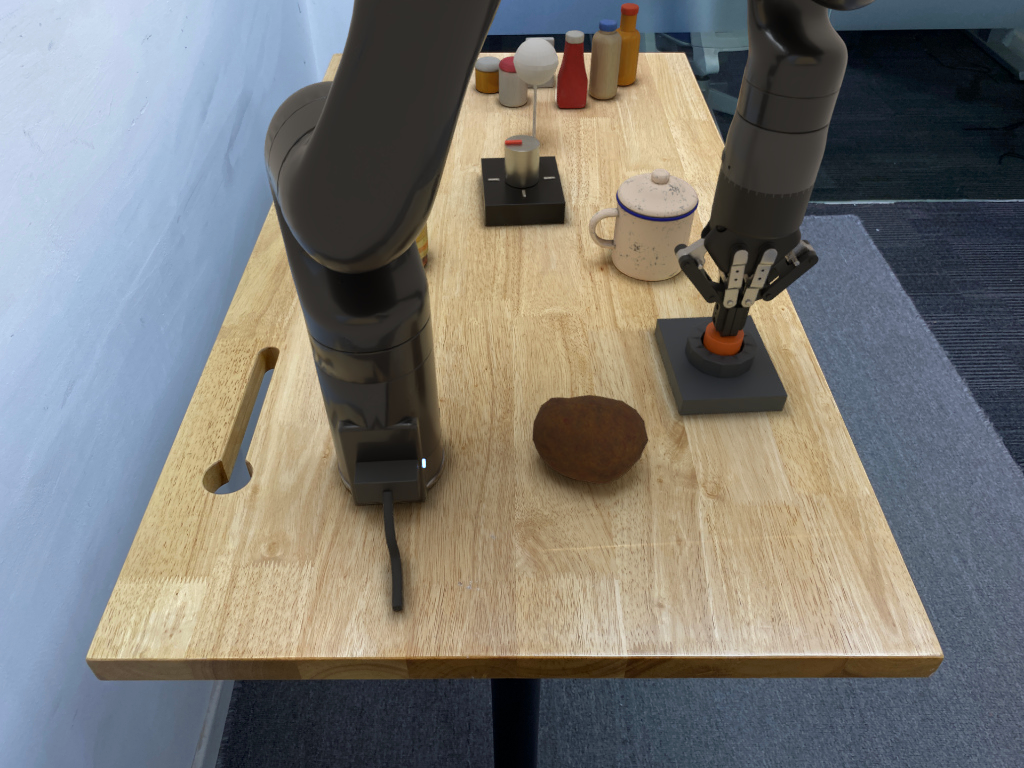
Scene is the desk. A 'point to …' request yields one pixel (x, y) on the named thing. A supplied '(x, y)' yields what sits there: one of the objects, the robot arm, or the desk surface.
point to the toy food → (573, 65)
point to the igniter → (717, 370)
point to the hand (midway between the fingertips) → (726, 330)
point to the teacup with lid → (649, 224)
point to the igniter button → (722, 342)
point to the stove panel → (522, 195)
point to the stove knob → (522, 161)
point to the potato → (589, 437)
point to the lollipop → (535, 66)
